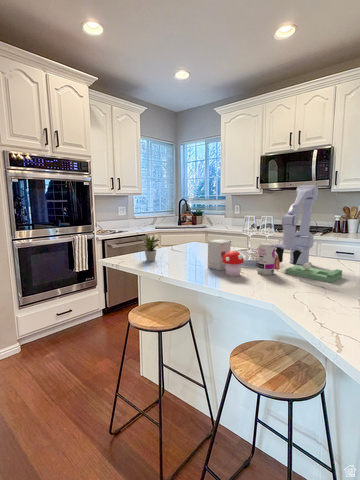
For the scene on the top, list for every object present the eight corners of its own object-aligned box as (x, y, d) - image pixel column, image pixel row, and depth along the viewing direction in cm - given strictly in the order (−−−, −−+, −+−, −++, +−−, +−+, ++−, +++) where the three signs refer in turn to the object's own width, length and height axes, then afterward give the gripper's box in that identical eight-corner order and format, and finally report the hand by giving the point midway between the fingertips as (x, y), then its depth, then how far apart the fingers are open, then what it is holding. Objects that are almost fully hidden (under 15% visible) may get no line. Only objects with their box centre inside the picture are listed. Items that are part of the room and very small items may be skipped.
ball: (301, 270, 136) (301, 262, 136) (304, 268, 139) (305, 261, 138) (308, 271, 134) (309, 264, 133) (311, 270, 136) (312, 263, 135)
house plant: (161, 263, 160) (161, 235, 157) (138, 263, 160) (137, 236, 158) (163, 257, 174) (163, 232, 171) (141, 258, 174) (141, 232, 172)
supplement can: (274, 271, 141) (276, 243, 138) (272, 276, 133) (274, 245, 131) (258, 270, 144) (259, 242, 142) (255, 274, 137) (256, 244, 134)
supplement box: (219, 270, 143) (220, 242, 141) (207, 267, 150) (207, 240, 148) (230, 267, 149) (231, 240, 147) (218, 264, 156) (218, 238, 154)
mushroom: (239, 278, 130) (239, 254, 128) (218, 275, 135) (218, 251, 133) (246, 273, 139) (247, 250, 137) (226, 270, 144) (226, 248, 142)
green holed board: (285, 273, 138) (285, 266, 138) (296, 268, 146) (296, 262, 146) (332, 282, 122) (332, 275, 122) (341, 277, 130) (342, 270, 130)
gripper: (272, 237, 144) (271, 262, 146) (299, 240, 133) (297, 267, 135) (278, 235, 148) (277, 260, 150) (305, 238, 138) (304, 264, 140)
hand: (287, 263), depth 143 cm, fingers open, 7 cm apart
